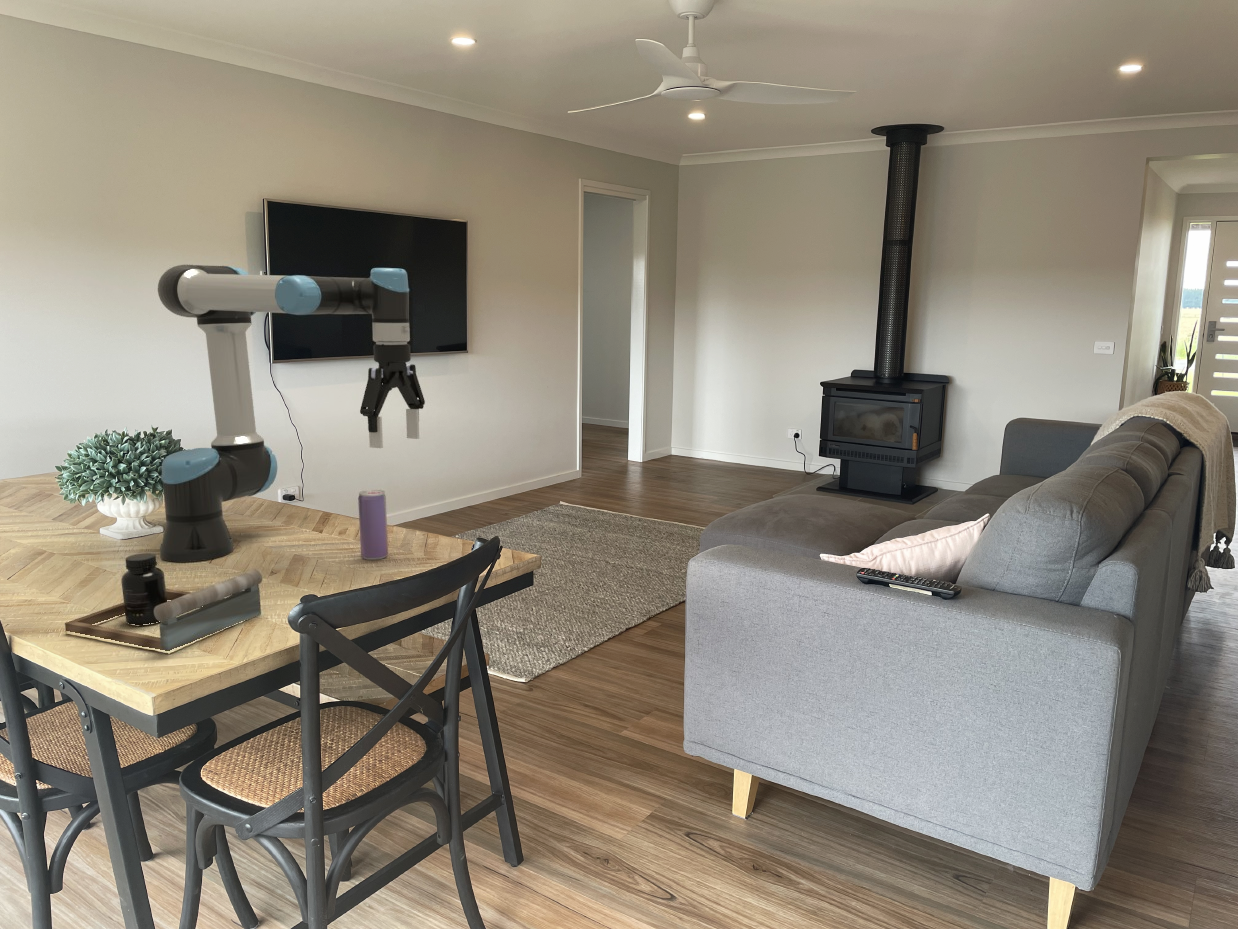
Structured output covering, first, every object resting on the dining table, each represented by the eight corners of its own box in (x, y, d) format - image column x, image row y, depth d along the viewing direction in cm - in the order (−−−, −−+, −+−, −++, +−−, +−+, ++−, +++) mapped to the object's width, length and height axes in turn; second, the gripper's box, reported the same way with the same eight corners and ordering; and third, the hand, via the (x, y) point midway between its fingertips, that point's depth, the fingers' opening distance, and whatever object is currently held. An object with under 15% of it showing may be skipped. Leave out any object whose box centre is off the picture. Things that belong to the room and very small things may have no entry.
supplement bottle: (136, 614, 162) (130, 551, 160) (174, 613, 163) (169, 550, 160) (118, 627, 155) (111, 562, 153) (158, 626, 156) (152, 561, 154)
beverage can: (380, 561, 196) (377, 495, 193) (356, 559, 197) (352, 494, 194) (392, 554, 201) (390, 490, 199) (368, 552, 203) (365, 488, 200)
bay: (64, 634, 152) (59, 588, 150) (166, 597, 171) (162, 555, 170) (170, 655, 143) (165, 606, 142) (264, 614, 162) (261, 570, 161)
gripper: (370, 346, 172) (375, 453, 176) (439, 341, 195) (441, 435, 199) (339, 345, 175) (343, 450, 179) (410, 340, 198) (413, 433, 202)
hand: (395, 443), depth 189 cm, fingers open, 13 cm apart
